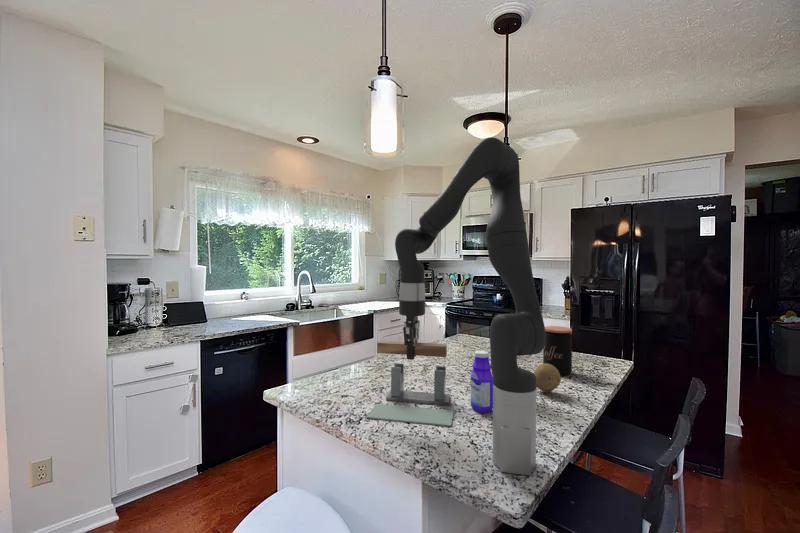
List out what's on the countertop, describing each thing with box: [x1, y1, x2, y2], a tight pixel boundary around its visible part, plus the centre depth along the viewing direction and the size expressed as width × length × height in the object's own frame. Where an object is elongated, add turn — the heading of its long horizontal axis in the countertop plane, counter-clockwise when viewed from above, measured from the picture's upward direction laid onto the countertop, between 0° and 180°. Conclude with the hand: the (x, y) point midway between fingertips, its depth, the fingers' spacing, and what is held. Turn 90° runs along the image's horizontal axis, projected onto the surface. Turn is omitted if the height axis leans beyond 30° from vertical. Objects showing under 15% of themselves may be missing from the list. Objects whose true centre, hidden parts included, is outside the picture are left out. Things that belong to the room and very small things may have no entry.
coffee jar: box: [542, 325, 573, 377], centre depth 150 cm, size 11×11×18 cm
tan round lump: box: [532, 363, 561, 394], centre depth 126 cm, size 9×9×10 cm
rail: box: [376, 340, 448, 358], centre depth 107 cm, size 3×20×3 cm, turn 77°
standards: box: [385, 362, 451, 406], centre depth 120 cm, size 7×20×10 cm, turn 78°
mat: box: [366, 403, 455, 427], centre depth 108 cm, size 10×24×1 cm, turn 78°
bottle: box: [470, 350, 493, 414], centre depth 112 cm, size 7×6×17 cm
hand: (411, 357), depth 108 cm, fingers closed on rail, 3 cm apart
